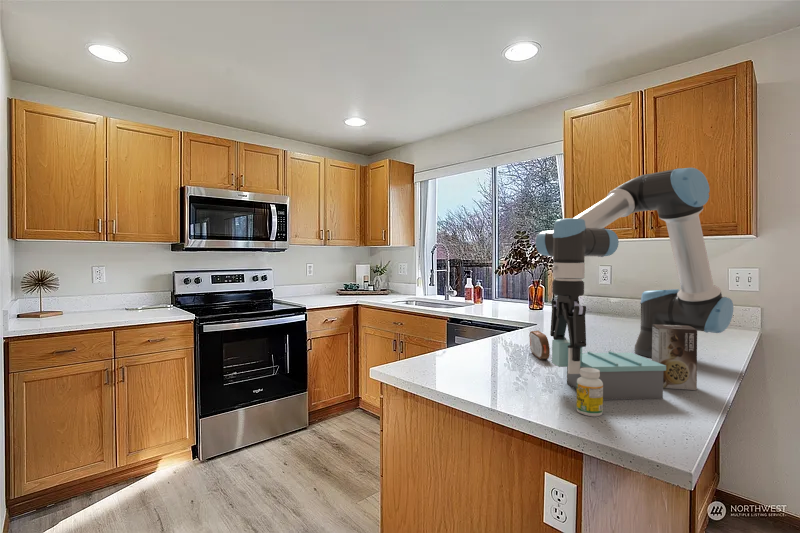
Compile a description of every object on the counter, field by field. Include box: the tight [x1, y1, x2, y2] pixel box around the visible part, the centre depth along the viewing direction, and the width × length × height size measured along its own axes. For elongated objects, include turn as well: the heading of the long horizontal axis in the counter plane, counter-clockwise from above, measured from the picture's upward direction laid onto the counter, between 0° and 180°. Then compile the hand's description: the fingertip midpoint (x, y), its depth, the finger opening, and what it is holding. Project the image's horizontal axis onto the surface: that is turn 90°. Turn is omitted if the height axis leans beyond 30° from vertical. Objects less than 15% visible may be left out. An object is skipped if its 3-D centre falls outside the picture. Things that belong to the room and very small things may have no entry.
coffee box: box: [651, 324, 698, 391], centre depth 114 cm, size 9×6×16 cm
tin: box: [528, 330, 551, 360], centre depth 146 cm, size 15×3×8 cm, turn 179°
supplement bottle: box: [575, 368, 604, 417], centre depth 94 cm, size 5×5×10 cm
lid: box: [551, 339, 666, 372], centre depth 109 cm, size 25×14×6 cm, turn 95°
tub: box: [566, 367, 664, 401], centre depth 109 cm, size 18×13×7 cm
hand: (566, 369), depth 108 cm, fingers open, 7 cm apart
